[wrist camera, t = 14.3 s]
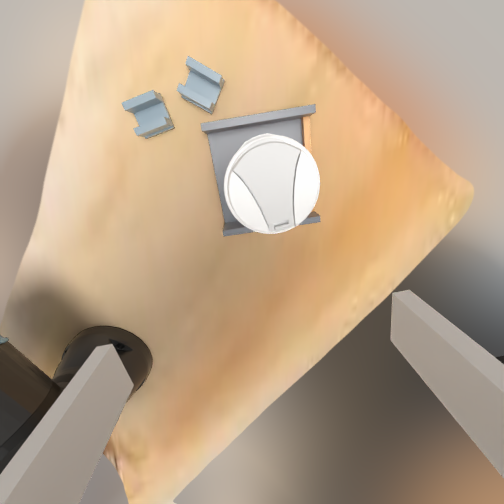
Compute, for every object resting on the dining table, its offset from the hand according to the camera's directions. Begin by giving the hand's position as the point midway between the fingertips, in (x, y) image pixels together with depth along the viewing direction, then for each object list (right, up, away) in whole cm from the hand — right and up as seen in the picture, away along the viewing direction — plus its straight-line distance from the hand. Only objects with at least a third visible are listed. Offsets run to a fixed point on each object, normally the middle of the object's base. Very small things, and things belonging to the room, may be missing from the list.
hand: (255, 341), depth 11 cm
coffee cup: (+1, +15, +22) cm, 27 cm away
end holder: (+1, +15, +23) cm, 27 cm away
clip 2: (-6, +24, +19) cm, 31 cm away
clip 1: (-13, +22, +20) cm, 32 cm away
